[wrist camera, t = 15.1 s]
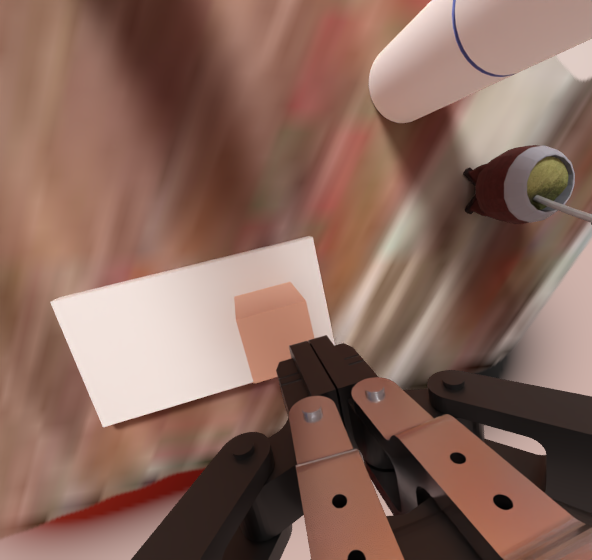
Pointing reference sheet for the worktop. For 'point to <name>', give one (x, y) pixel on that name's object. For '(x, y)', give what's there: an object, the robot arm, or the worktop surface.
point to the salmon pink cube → (271, 327)
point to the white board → (179, 328)
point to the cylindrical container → (470, 50)
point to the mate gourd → (524, 186)
